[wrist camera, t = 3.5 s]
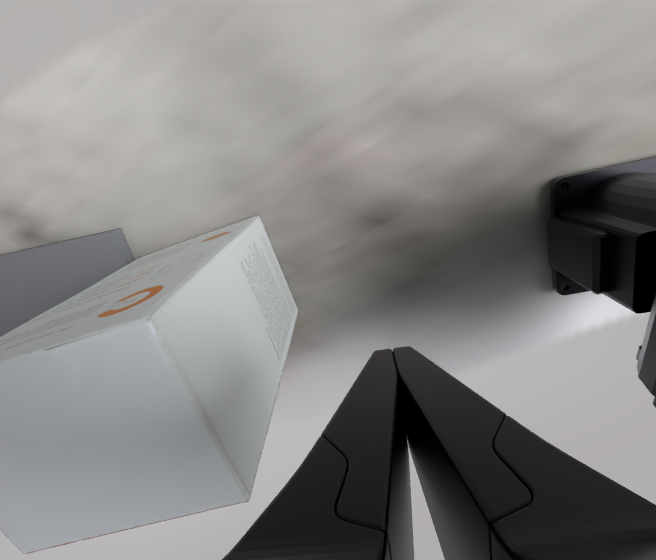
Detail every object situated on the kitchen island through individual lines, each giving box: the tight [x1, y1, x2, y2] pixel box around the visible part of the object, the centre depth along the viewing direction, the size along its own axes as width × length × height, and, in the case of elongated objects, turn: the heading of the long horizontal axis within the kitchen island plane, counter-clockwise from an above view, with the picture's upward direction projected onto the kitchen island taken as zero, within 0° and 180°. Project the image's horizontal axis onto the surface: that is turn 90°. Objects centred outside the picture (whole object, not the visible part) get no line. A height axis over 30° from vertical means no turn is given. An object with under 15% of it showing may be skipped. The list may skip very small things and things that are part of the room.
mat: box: [0, 228, 134, 337], centre depth 24 cm, size 15×11×1 cm
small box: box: [0, 216, 298, 554], centre depth 16 cm, size 8×6×13 cm
